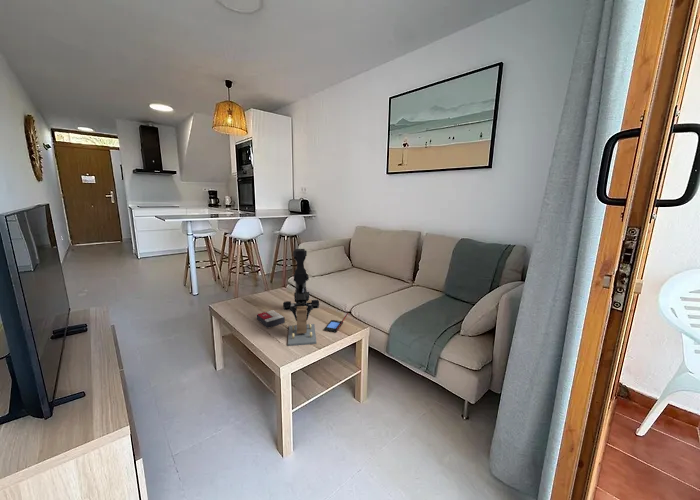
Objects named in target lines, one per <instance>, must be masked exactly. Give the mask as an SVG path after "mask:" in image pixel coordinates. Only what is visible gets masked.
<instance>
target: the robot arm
mask: <svg viewBox="0 0 700 500" xmlns="http://www.w3.org/2000/svg"><path fill="white" fill-rule="evenodd" d="M307 251H308V250H307V249H305V248H295V249H294V250H293V252H292V253H293V254H292V255H293V257H294V260H295V262H296V268H295V270H294V274H293V282H294V283H295V292H294V295H293V296H294V297H293V298H294V302H293V303H292V301H291V300H289V301H283V304H282V308H283V311H289V312H291V313H292V314H293V316H294V319H295V321H296V322H297V306H306V308H307V321H308V319H309V315H310V314H311V312H312V311H313V310H314V309H319V307H320V306H319V305H320V301H319V299H311V301H310V302H308V301H309V300H310V291H307V282H308V281H309V278H310V277H309V275H308V273H307V270H306V269H305V267H304V264H305V263H304V262H305V260H306V258H307V256H308V255H307V254H308V253H307Z"/></svg>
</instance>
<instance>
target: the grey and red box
mask: <svg viewBox="0 0 700 500" xmlns="http://www.w3.org/2000/svg"><path fill="white" fill-rule="evenodd" d="M256 320H257V321H259V322H260V323H261V324H262V325H263V326H264V327H265V328H266V329H269V328H273V327H276V326H279V325H283V324H286V320H285V317H284V315H282V314H280V313H279V312H277V311H275V310H274V309H272V310H268V311H265V312H260V313H257V314H256Z"/></svg>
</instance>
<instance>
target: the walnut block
mask: <svg viewBox="0 0 700 500" xmlns="http://www.w3.org/2000/svg"><path fill="white" fill-rule="evenodd" d="M296 316H297V321H296V325H297V334H299V333H307V322H308V320H307V308H306V306H297V310H296Z"/></svg>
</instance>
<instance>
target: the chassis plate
mask: <svg viewBox="0 0 700 500" xmlns="http://www.w3.org/2000/svg"><path fill="white" fill-rule="evenodd" d="M315 326H316V324H315V323H309V324H307V333H299V334H297V324H293V325H289V326H288V336H287V337H288V339H287V340H288V341H287V347H291V346H292V347H293V346H294V347H295V346H305V345H306V346H307V345H316V344H317V336H316V335H317V334H316V327H315Z"/></svg>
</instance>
